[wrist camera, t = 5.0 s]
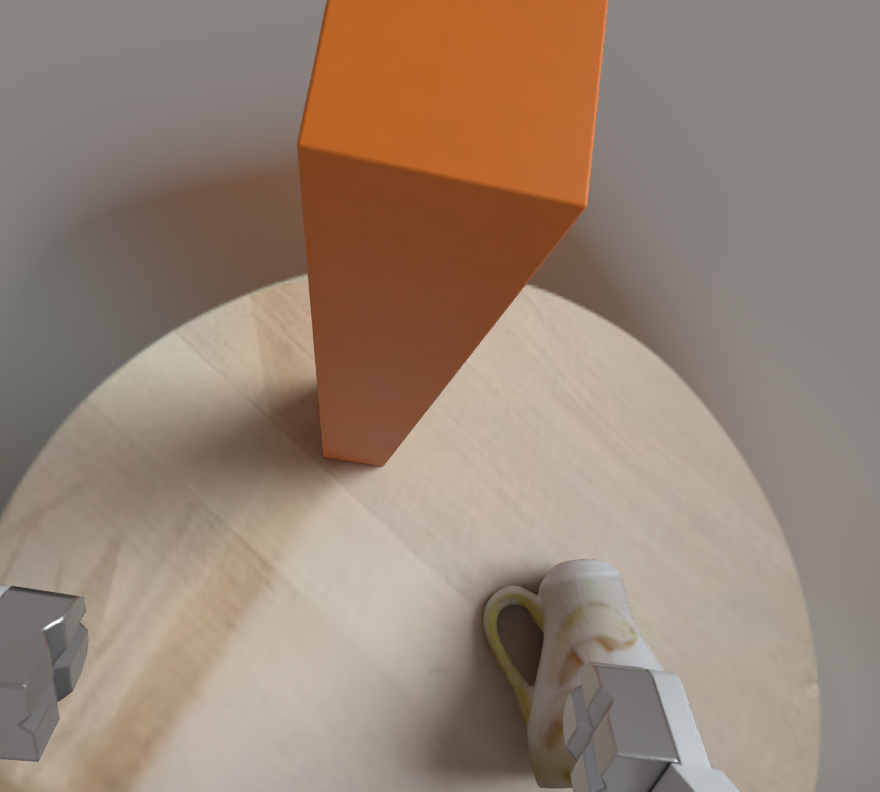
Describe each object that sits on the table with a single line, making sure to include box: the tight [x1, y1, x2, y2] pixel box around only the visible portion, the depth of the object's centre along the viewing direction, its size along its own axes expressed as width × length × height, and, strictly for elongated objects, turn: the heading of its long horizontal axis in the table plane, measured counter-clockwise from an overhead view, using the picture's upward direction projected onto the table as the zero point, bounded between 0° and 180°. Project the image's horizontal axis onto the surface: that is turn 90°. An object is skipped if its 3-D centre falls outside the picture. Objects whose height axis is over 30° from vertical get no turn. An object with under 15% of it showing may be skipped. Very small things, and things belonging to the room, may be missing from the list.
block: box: [297, 0, 608, 466], centre depth 21 cm, size 3×4×28 cm
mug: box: [483, 559, 665, 788], centre depth 31 cm, size 8×10×10 cm
